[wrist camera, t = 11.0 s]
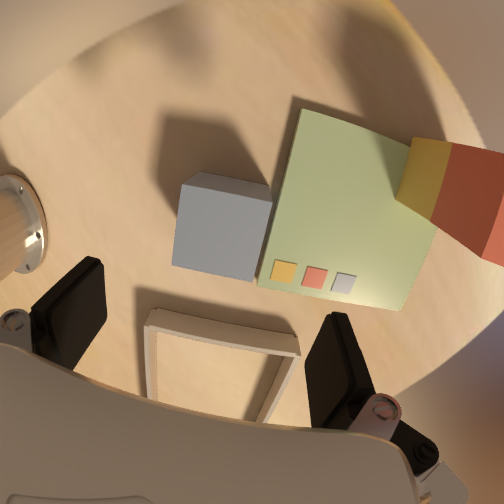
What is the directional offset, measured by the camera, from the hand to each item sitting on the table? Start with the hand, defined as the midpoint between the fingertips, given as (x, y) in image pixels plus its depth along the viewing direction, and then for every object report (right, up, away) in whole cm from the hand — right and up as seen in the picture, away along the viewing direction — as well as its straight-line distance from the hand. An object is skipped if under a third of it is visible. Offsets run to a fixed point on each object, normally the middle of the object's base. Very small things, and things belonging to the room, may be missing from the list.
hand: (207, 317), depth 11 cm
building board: (+12, +5, +14) cm, 19 cm away
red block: (+18, +7, +5) cm, 20 cm away
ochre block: (+18, +9, +10) cm, 23 cm away
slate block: (0, +6, +14) cm, 15 cm away
